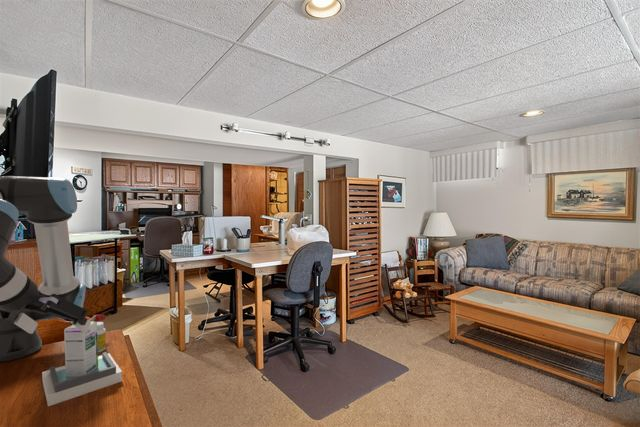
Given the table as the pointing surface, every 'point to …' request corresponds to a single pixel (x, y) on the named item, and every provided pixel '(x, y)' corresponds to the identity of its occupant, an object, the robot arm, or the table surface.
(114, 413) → the table surface
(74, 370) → the syrup box
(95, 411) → the table surface
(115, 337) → the table surface
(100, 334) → the supplement bottle
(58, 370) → the dock
